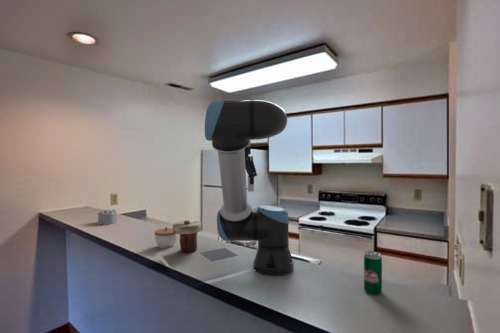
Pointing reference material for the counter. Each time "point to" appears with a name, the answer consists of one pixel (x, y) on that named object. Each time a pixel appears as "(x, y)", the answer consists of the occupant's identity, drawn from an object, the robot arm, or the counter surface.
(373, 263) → the soda can
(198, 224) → the lid
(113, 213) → the lumpy-topped squat cylinder
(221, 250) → the mat
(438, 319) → the counter surface
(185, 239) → the mug
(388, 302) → the counter surface
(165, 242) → the lidded jar
